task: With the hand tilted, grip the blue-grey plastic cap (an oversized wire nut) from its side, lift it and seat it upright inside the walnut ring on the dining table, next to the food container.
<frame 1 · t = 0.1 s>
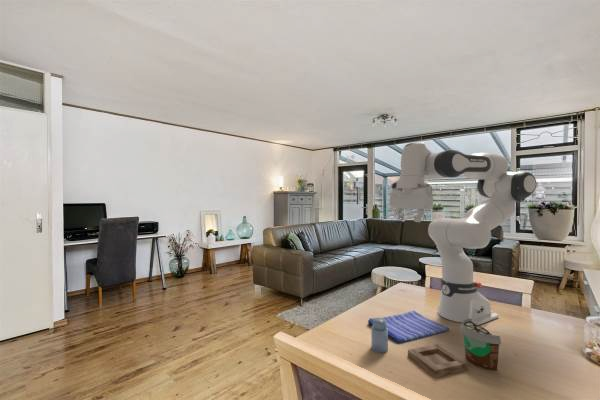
hand: (408, 221, 109), 39 cm above the table, tool pointing down, fingers open, 8 cm apart
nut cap: (379, 348, 91), on the table
dish towel: (406, 329, 106), on the table
socket ring: (436, 362, 83), on the table
food container: (474, 362, 84), on the table
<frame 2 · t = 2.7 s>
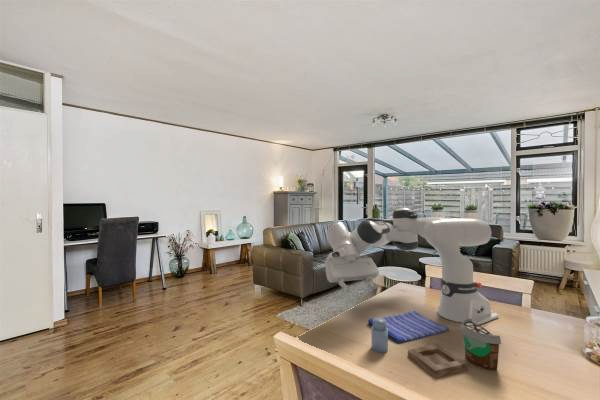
hand: (359, 289, 103), 15 cm above the table, tool tilted 45°, fingers open, 8 cm apart
nothing on the table moved.
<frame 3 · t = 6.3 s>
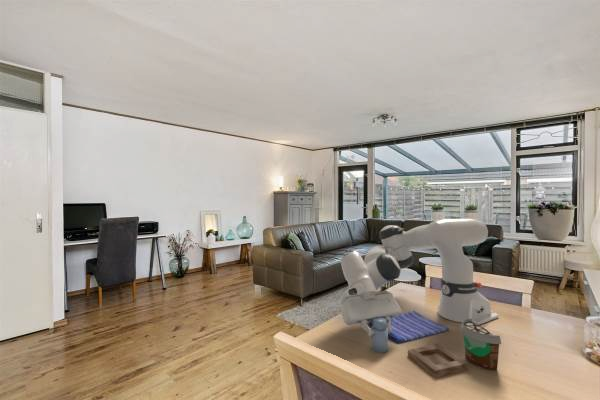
hand: (380, 333, 91), 5 cm above the table, tool tilted 45°, fingers closed on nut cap, 5 cm apart
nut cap: (379, 348, 91), on the table, touching gripper
everything else where it was.
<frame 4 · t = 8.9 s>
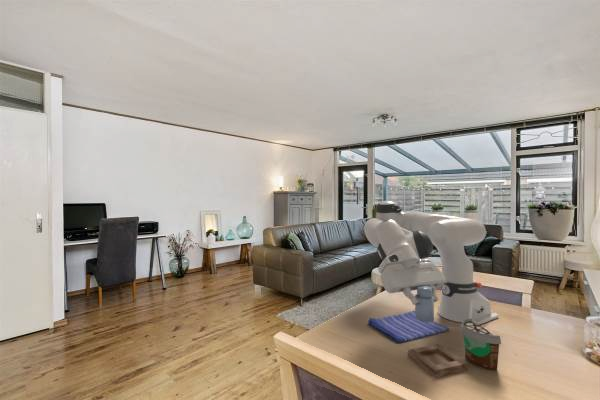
hand: (426, 302, 84), 17 cm above the table, tool tilted 45°, fingers closed on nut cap, 5 cm apart
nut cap: (424, 318, 84), point 12 cm above the table, touching gripper
everything else where it was.
when the fingers open (7 cm above the table, at t = 11.7 s): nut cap drops 1 cm, resting on socket ring.
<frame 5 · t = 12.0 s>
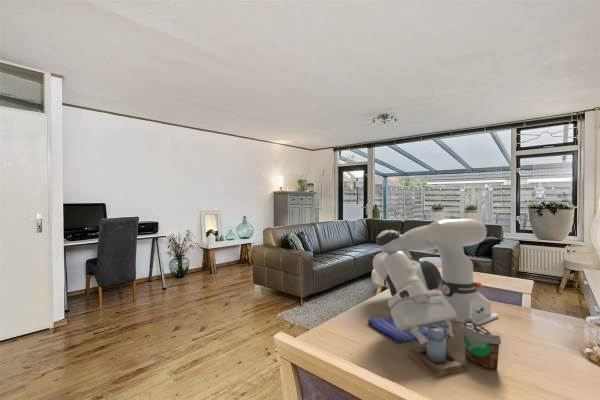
hand: (438, 340, 82), 7 cm above the table, tool tilted 45°, fingers open, 8 cm apart
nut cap: (436, 360, 83), point 1 cm above the table, touching socket ring
everything else where it was.
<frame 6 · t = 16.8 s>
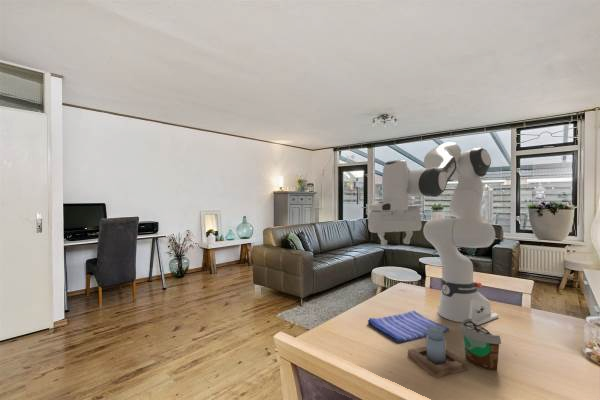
hand: (395, 244, 102), 31 cm above the table, tool pointing down, fingers open, 8 cm apart
nothing on the table moved.
at the end: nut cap 0.0 cm off-centre on the socket ring, point 0.7 cm above the socket ring's base; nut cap tilted 1°; the gripper is holding nothing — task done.
